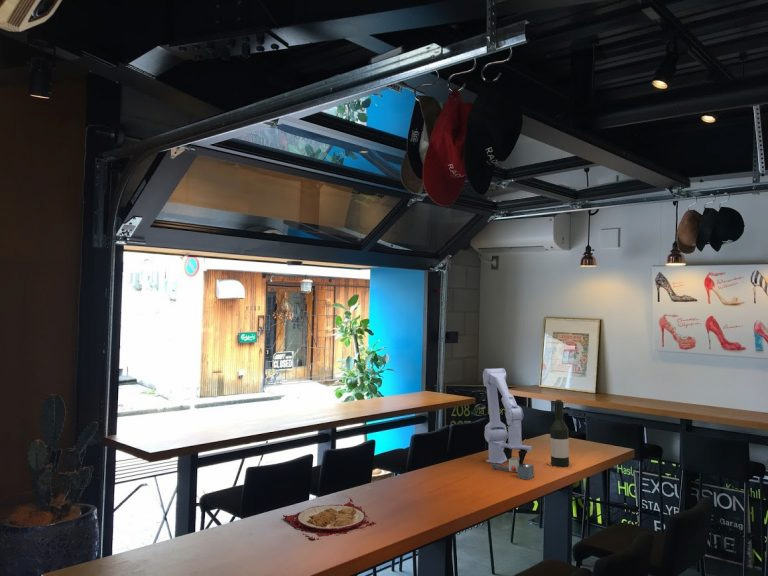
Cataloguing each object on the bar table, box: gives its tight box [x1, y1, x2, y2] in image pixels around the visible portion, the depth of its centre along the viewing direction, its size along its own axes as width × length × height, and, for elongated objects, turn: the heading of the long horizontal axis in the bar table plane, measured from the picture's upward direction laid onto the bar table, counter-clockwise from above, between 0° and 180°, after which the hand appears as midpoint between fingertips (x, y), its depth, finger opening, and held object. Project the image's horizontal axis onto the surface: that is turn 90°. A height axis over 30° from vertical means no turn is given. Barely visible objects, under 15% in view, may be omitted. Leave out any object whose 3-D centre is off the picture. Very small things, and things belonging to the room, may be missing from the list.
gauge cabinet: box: [517, 462, 535, 481], centre depth 256 cm, size 6×5×5 cm
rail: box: [491, 463, 510, 472], centre depth 267 cm, size 3×18×2 cm, turn 57°
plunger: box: [510, 466, 518, 473], centre depth 258 cm, size 3×4×3 cm, turn 57°
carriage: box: [508, 456, 519, 472], centre depth 266 cm, size 5×4×5 cm
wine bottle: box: [549, 398, 570, 468], centre depth 277 cm, size 8×8×30 cm
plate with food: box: [282, 497, 377, 541], centre depth 203 cm, size 25×26×4 cm
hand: (515, 465), depth 266 cm, fingers closed on carriage, 4 cm apart
